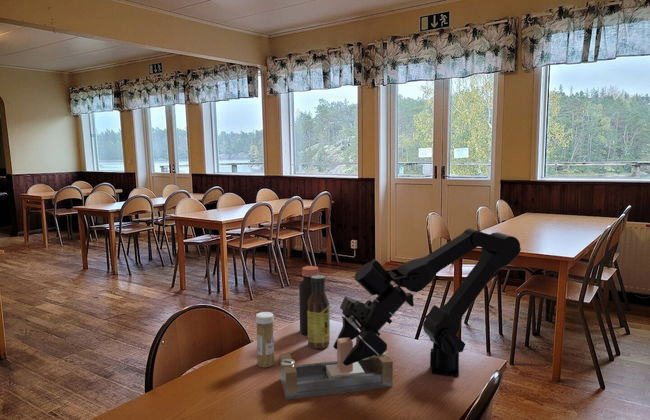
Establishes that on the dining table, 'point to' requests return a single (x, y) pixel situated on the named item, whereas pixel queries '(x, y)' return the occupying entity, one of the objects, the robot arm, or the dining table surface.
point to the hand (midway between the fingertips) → (339, 355)
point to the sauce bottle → (318, 314)
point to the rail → (317, 383)
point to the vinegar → (305, 295)
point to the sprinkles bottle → (265, 339)
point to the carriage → (342, 351)
